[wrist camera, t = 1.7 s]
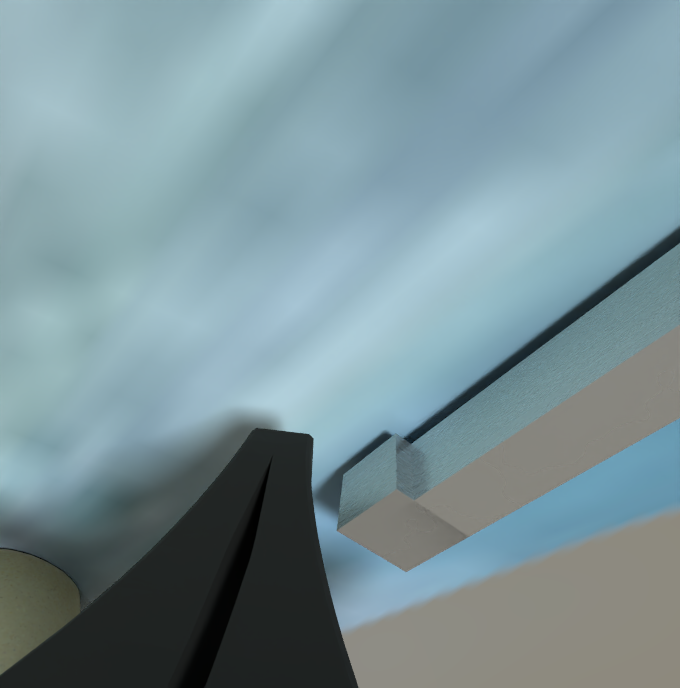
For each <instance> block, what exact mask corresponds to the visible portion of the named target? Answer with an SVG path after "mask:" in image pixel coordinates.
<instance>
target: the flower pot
mask: <svg viewBox="0 0 680 688" xmlns="http://www.w3.org/2000/svg"><path fill="white" fill-rule="evenodd" d="M79 613H81V611H80V594H79V591H78V588H77V587H76V585H75V584H74V582H73V581H72V580H71V579H70V578H69V577H68V576H67V575H66V574H65V573H64V572H62V571H61V570H60V569H58V568H57V567H55V566H54V565H52V564H50V563H48V562H46V561H44V560H42V559H40V558H37V557H35V556H32V555H29V554H26V553H22V552H18V551H14V550H7V549H0V675H1V674H2V673H3V672H5V671H6V670H7V669H9V668H10V667H11V666H13V665H14V664H15V663H16V662H18V661H19V660H20V659H22V658H23V657H24V656H26V655H27V654H28V653H30V652H31V651H32V650H33V649H35V648H36V647H37V646H39V645H40V644H41V643H43V642H44V641H45V640H46V639H48V638H49V637H50V636H52V635H53V634H54V633H56V632H57V631H58V630H60V629H61V628H62V627H63V626H65V625H66V624H67V623H68V622H70V621H71V620H72V619H73V618H74V617H76V616H77V615H78V614H79Z"/></svg>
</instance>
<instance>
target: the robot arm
mask: <svg viewBox="0 0 680 688" xmlns="http://www.w3.org/2000/svg"><path fill="white" fill-rule="evenodd" d="M312 459H313V438H312V437H311V436H310V435H309V434H303V433H294V432H286V431H277V430H269V429H260V428H256V429H255V430H253V431H252V432H251V433H250V435H249V436H248V438H247V439H246V441H245V442H244V444H243V445H242V446H241V448H240V449H239V450H238V452H237V453H236V454H235V456H234V457H233V458H232V460H231V461H230V462H229V463H228V465H227V466H226V467H225V469H224V470H223V471H222V472H221V474H220V475H219V476H218V477H217V478H216V480H215V481H214V482H213V483H212V484H211V485H210V487H209V488H208V489H207V490H206V491H205V493H204V494H203V495H202V496H201V497H200V498H199V500H198V501H197V502H196V503H195V504H194V505H193V506H192V507H191V508H190V510H189V511H188V512H187V513H186V514H185V515H184V516H183V517H182V518H181V519H180V520H179V521H178V522H177V523H176V524H175V526H174V527H173V528H172V529H171V530H170V531H169V532H168V533H167V534H166V535H165V536H164V537H163V538H162V539H161V540H160V541H159V542H158V543H157V544H156V545H155V546H154V547H153V548H152V549H151V550H150V551H149V552H148V553H147V554H146V555H145V556H144V557H143V558H142V559H141V560H140V561H139V562H137V563H136V564H135V565H134V566H133V567H132V568H131V569H130V570H129V571H128V572H127V573H126V574H125V575H123V576H122V577H121V578H120V579H119V580H118V581H117V582H116V583H114V584H113V585H112V586H111V587H110V588H109V589H107V590H106V591H105V592H104V593H103V594H102V595H100V596H99V597H98V598H97V599H96V600H95V601H94V602H92V603H91V604H90V605H89V606H88V607H87V608H85V609H84V610H83V611H82V612H81V613H79V614H78V615H77V616H76V617H74V618H73V619H72V620H71V621H70V622H68V623H67V624H66V625H65V626H63V627H62V628H61V629H60V630H58V631H57V632H56V633H54V634H53V635H52V636H50V637H49V638H48V639H46V640H45V641H44V642H43V643H41V644H40V645H39V646H37V647H36V648H35V649H33V650H32V651H31V652H30V653H28V654H27V655H26V656H24V657H23V658H22V659H20V660H19V661H18V662H16V663H15V664H14V665H13V666H11V667H10V668H9V669H7V670H6V671H5V672H3V673H2V674H1V675H0V688H358V685H357V682H356V678H355V675H354V672H353V669H352V666H351V663H350V660H349V657H348V654H347V651H346V648H345V644H344V641H343V638H342V634H341V631H340V627H339V624H338V620H337V617H336V613H335V610H334V606H333V602H332V598H331V594H330V590H329V586H328V582H327V578H326V573H325V569H324V564H323V560H322V554H321V549H320V544H319V539H318V533H317V527H316V521H315V513H314V505H313V498H312V487H311V478H312Z"/></svg>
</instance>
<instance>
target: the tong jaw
mask: <svg viewBox="0 0 680 688" xmlns="http://www.w3.org/2000/svg"><path fill="white" fill-rule="evenodd" d="M679 418H680V243H679V244H678V245H676V246H675V247H674V248H672V249H671V250H670V251H668V252H667V253H666V254H664V255H663V256H662V257H660V258H659V259H658V260H656V261H655V262H654V263H652V264H651V265H650V266H648V267H647V268H646V269H644V270H643V271H642V272H640V273H639V274H638V275H636V276H635V277H634V278H632V279H631V280H630V281H628V282H627V283H626V284H624V285H623V286H622V287H620V288H619V289H618V290H616V291H615V292H614V293H612V294H611V295H610V296H608V297H607V298H606V299H604V300H603V301H602V302H600V303H599V304H598V305H596V306H595V307H594V308H592V309H591V310H590V311H588V312H587V313H586V314H584V315H583V316H582V317H580V318H579V319H578V320H576V321H575V322H574V323H572V324H571V325H570V326H568V327H567V328H566V329H564V330H563V331H562V332H560V333H559V334H558V335H556V336H555V337H553V338H552V339H551V340H549V341H548V342H547V343H545V344H544V345H543V346H541V347H540V348H539V349H537V350H536V351H535V352H533V353H532V354H531V355H529V356H528V357H527V358H525V359H524V360H523V361H521V362H520V363H519V364H517V365H516V366H515V367H513V368H512V369H511V370H509V371H508V372H507V373H505V374H504V375H503V376H501V377H500V378H499V379H497V380H496V381H495V382H493V383H492V384H491V385H489V386H488V387H487V388H485V389H484V390H483V391H481V392H480V393H479V394H477V395H476V396H475V397H473V398H472V399H471V400H469V401H468V402H467V403H465V404H464V405H463V406H461V407H460V408H459V409H457V410H456V411H455V412H453V413H452V414H451V415H449V416H448V417H447V418H445V419H444V420H443V421H441V422H440V423H439V424H437V425H436V426H435V427H433V428H432V429H431V430H429V431H428V432H427V433H425V434H424V435H423V436H421V437H420V438H419V439H417V440H416V441H415V442H413V443H412V444H410V443H409V442H407V441H406V440H405V439H403V438H402V437H400V436H399V435H397V434H394V435H393V436H392V437H391V438H389V439H388V440H387V441H385V442H384V443H383V444H382V445H380V446H379V447H378V448H377V449H375V450H374V451H373V452H371V453H370V454H369V455H368V456H366V457H365V458H364V459H362V460H361V461H360V462H359V463H357V464H356V465H355V466H354V467H352V468H351V469H350V470H348V471H347V472H346V473H345V474H343V482H342V490H341V499H340V507H339V516H338V524H337V531H338V532H340V533H341V534H343V535H345V536H346V537H348V538H350V539H352V540H353V541H355V542H357V543H358V544H360V545H362V546H363V547H365V548H367V549H368V550H370V551H372V552H373V553H375V554H377V555H378V556H380V557H382V558H384V559H385V560H387V561H389V562H390V563H392V564H394V565H395V566H397V567H399V568H400V569H402V570H404V571H405V572H407V571H409V570H411V569H412V568H414V567H416V566H418V565H420V564H421V563H423V562H425V561H427V560H428V559H430V558H432V557H434V556H435V555H437V554H439V553H441V552H443V551H444V550H446V549H448V548H450V547H451V546H453V545H455V544H457V543H459V542H460V541H462V540H464V539H466V538H467V537H469V536H471V535H473V534H475V533H476V532H478V531H480V530H482V529H483V528H485V527H487V526H489V525H491V524H492V523H494V522H496V521H498V520H499V519H501V518H503V517H505V516H506V515H508V514H510V513H512V512H514V511H515V510H517V509H519V508H521V507H522V506H524V505H526V504H528V503H530V502H531V501H533V500H535V499H537V498H538V497H540V496H542V495H544V494H546V493H547V492H549V491H551V490H553V489H554V488H556V487H558V486H560V485H562V484H563V483H565V482H567V481H569V480H570V479H572V478H574V477H576V476H577V475H579V474H581V473H583V472H585V471H586V470H588V469H590V468H592V467H593V466H595V465H597V464H599V463H601V462H602V461H604V460H606V459H608V458H609V457H611V456H613V455H615V454H617V453H618V452H620V451H622V450H624V449H625V448H627V447H629V446H631V445H633V444H634V443H636V442H638V441H640V440H641V439H643V438H645V437H647V436H648V435H650V434H652V433H654V432H656V431H657V430H659V429H661V428H663V427H664V426H666V425H668V424H670V423H672V422H673V421H675V420H677V419H679Z"/></svg>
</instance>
